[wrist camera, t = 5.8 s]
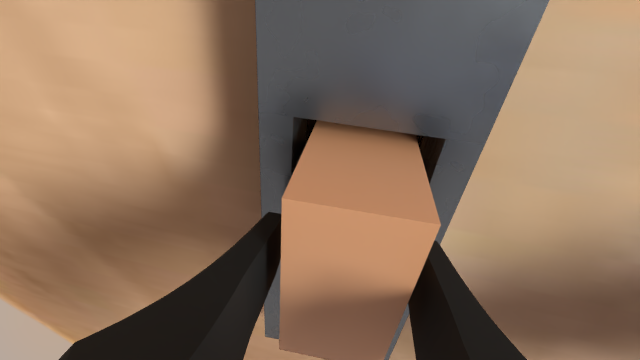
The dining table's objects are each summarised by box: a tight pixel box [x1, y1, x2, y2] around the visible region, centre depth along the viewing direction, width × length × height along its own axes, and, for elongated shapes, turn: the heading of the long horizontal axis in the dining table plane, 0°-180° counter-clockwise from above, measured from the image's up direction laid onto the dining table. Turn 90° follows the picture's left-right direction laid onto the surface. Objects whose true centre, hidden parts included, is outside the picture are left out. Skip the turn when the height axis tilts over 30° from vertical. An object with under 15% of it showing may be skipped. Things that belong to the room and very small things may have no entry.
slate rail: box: [255, 0, 549, 360], centre depth 14 cm, size 22×8×3 cm, turn 175°
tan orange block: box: [279, 120, 441, 360], centre depth 12 cm, size 8×4×7 cm, turn 175°
